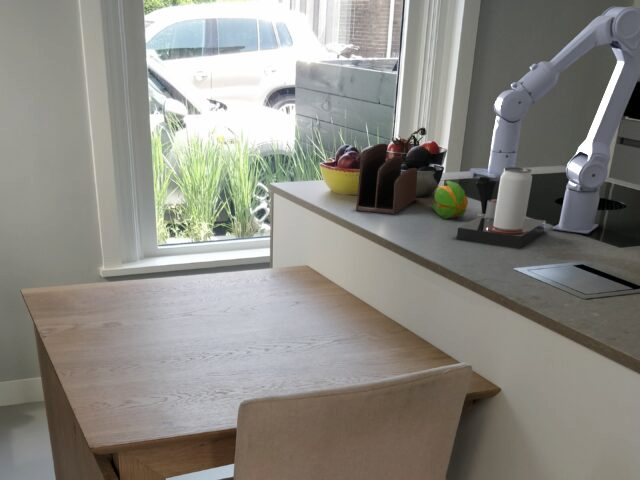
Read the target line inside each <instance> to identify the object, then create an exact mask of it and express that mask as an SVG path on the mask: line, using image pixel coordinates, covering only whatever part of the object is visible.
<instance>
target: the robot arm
mask: <svg viewBox="0 0 640 480" xmlns="http://www.w3.org/2000/svg"><path fill="white" fill-rule="evenodd" d="M605 45H608V46H609V47H611V49H612V52H613V54H614V56H615V59H616V65H615V67H614V70H613V72H612V75H611V77H610V79H609V82H608V85H607V87H606V89H605V92H604V94H603V97H602V100H601V101H600V104H599V106H598V109H597V111H596V114H595V116H594V118H593V121H592V123H591V126H590V128H589V131H588V133H587V136H586V138H585V140H584V141H583V142H582V143H581V144H580V145H579V146H578V148H577V151H576V152H575V154H574V155H573V156H572V158H570V160H569V161H568V163H566V164H567V165H566V167H565V175H566V178H567V179H568V182H567V183H566V187H565V192H564V196H563V203H562V207H561V212H560V217H559V222H558V224H556V225H555V226H553V227H552V230H555V231H562V232H563V231H564V232H570V233H577V234H584V235H589V234H590V233H591V232H593V231H594V230H596V228H598V227H599V224H597V223H596V222H595V221H596V217H597V212H598V208H599V203H600V192H601V191H600V190H601V186H602V185H603V184H605V182H606V180H607V177H608V174H609V173H608V170H609V169H608V166H609V162H610V160H611V144H612V142H613V140H614V137H615V135H616V132H617V130H618V128H619V125H620V123H621V121H622V118H623V116H624V113H625V111H626V109H627V106H628V104H629V101H630V99H631V97H632V94H633V92H634V90H635V87H636V85H637V83H638V81H639V77H640V8H639V7H637V6H634V5H633V6H631V5H630V6H619V5H614V6H611V7H608V8H607V9H606V10H604V11H603V12H602V14H601V15H598V16H597V17H595V18H594V19H593V20H591V22H590V23H588V24H587V26H586V27H584V28H583V29H582V30H581V31H580V33H577V35H576V36H575V37H574V38H573V39H571V41H570V42H568V43H567V45H565V46H564V47H563V48H562V49H561V51H559V52H558V53H557V54H556V55H555V56H554V57H553V58H552V59H551V60H549V61H540V62H538V63H533V64H532V65H531V66H529V71H528V72H527V73H526V74H525V75H523V77H521V79H519V80H518V81H517V82H515V81H514V82H512V83H511V84H510V88H511V89H508V90H504V91H502V92H501V93H500V94H499V95H498V96H497V98H496V100H495V103H493V111H494V113H495V115H496V116H495V123H494V127H493V133H492V140H491V146H490V154H489V160H488V166H487V168H480V167H472V168H469V174H468V178H470V179H478V181H476V182H475V186H476V188H477V192H478V195H479V198H480V204H481V205H480V206H481V215H484V214H485V213H486V207H487V201H488V200H492V199H493V194H494V191H495V187H496V184H497V182H499V183H500V179H501V175H502V174H503V172H504V168H507V167H516V162H517V157H518V156H517V155H518V150H519V143H520V138H521V132H522V123H523V119H524V117H526V116H527V114H528V112H529V109H530V107H531V106H534V104H535V103H536V102H537V101H539V100H540V99H541V98H542V97H544V96H545V95H546V94H547V93H548V92H549V91H551V90H552V88H554V87H555V86H556V85H557V84H558V80H559V76H560V74H562V73H563V72H564V71H565V70H566V69H567V68H569V67H570V66H571V65H573V64H574V63H575V62H576V61H578V60H579V59H580V58H581V57H582V56H585V54H586V53H588V52H589V51H590V50H591V49H593V48H594V47H599V46H605Z"/></svg>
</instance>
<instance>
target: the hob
mask: <svg viewBox="0 0 640 480" xmlns="http://www.w3.org/2000/svg"><path fill="white" fill-rule="evenodd" d="M476 216H478V217H476V218H474V219H472V220H470V221H467V222H466V223H464V224H462V225H460V226H458V227H457V232H456V240H460V241H467V242H474V243H480V244H487V245H493V246H499V247H506V248H514V249H520V248H522V247H523V246H525V245H526V244H528V243H530V242H531V241H532V240H534V239H535V238H537V237H539V236H540V235H542V234H543V233H545V228H546V225H547V224H546V223H547V221H546V220H542V219H535V218H528V217H527V218H526V217H525V223H524V226H525V227H527V228H529V232H527V233H522V234H504V233H497V232H493V231H490V230H488V229H487V226H488V225H491V224H494V219H490V218H486V217H485V214H479V213H477V214H476Z"/></svg>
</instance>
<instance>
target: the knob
mask: <svg viewBox="0 0 640 480" xmlns="http://www.w3.org/2000/svg"><path fill="white" fill-rule="evenodd" d="M496 204H497V198H495V199H493V198H492V199H491V200H488V201H487V207H486V213H485V217H486V218H490V219H494V217H495V210H496Z"/></svg>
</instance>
